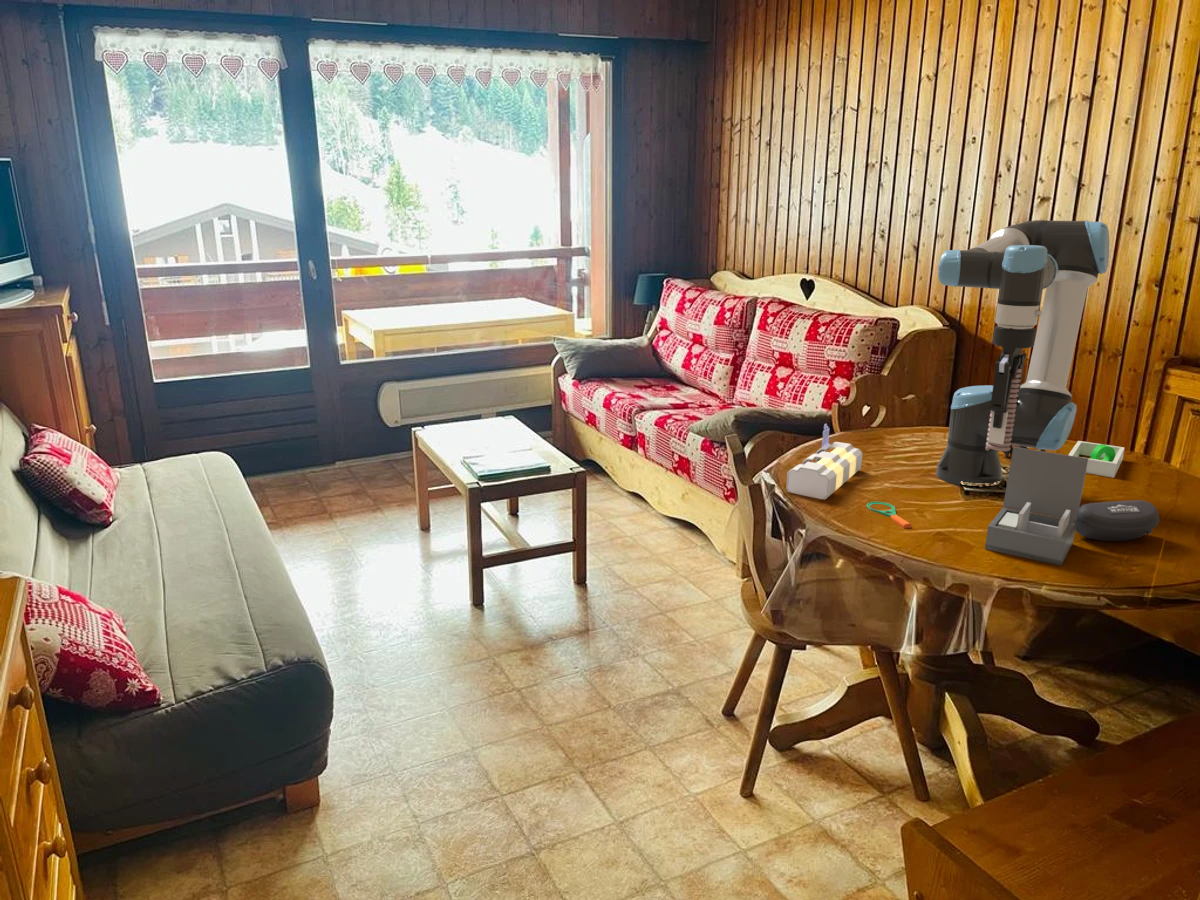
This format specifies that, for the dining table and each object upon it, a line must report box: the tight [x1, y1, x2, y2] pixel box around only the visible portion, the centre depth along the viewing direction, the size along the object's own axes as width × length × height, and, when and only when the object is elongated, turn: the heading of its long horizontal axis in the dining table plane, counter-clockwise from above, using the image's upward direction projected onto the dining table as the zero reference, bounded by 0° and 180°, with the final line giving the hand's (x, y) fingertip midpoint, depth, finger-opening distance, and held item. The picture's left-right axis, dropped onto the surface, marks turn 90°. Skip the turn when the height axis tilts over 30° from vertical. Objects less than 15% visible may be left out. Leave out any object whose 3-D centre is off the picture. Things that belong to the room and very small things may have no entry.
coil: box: [985, 369, 1022, 452], centre depth 175 cm, size 5×5×18 cm
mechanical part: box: [1089, 443, 1115, 462], centre depth 225 cm, size 12×6×8 cm, turn 98°
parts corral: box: [1068, 440, 1125, 479], centre depth 226 cm, size 11×17×4 cm, turn 144°
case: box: [984, 447, 1090, 566], centre depth 176 cm, size 14×16×18 cm
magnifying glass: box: [866, 501, 913, 529], centre depth 194 cm, size 15×6×2 cm, turn 11°
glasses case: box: [1075, 499, 1160, 542], centre depth 181 cm, size 18×10×8 cm, turn 98°
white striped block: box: [786, 423, 863, 501], centre depth 213 cm, size 25×10×13 cm, turn 147°
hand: (999, 439), depth 177 cm, fingers closed on coil, 5 cm apart
